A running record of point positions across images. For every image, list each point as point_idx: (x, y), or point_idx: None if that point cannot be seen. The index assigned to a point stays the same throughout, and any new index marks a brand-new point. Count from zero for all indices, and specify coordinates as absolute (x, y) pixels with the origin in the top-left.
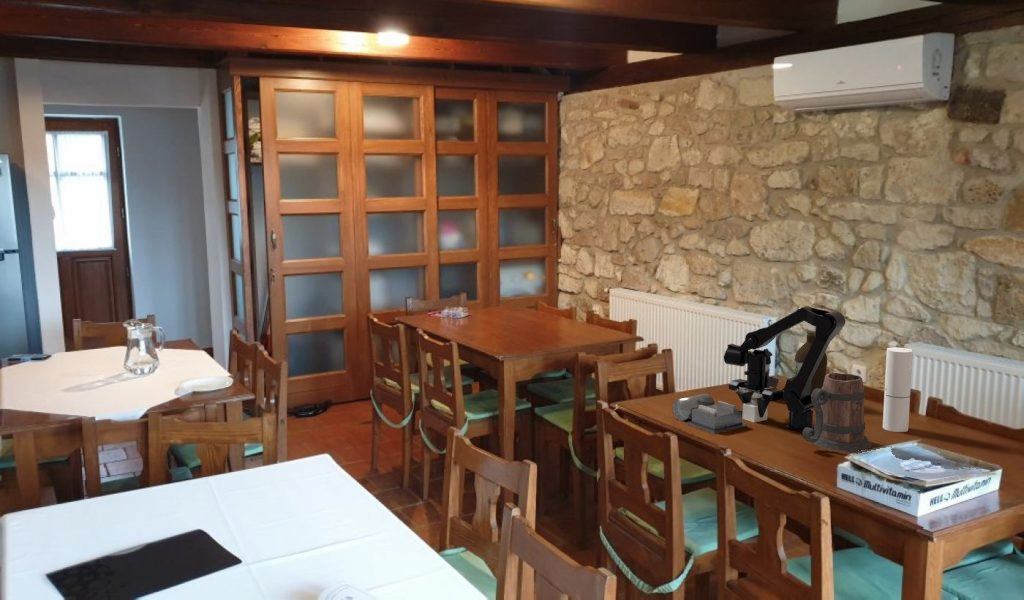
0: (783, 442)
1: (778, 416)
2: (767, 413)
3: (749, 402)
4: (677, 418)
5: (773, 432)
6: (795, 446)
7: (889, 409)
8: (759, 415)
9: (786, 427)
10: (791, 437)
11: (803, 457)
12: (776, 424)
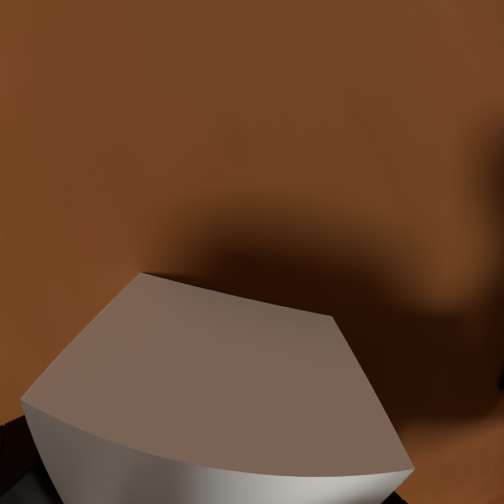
0: (466, 495)
1: (379, 104)
2: (354, 357)
3: (63, 501)
4: None
5: (434, 478)
6: (495, 483)
7: None
8: None
9: (500, 389)
10: (499, 452)
11: (497, 498)
12: (442, 379)
